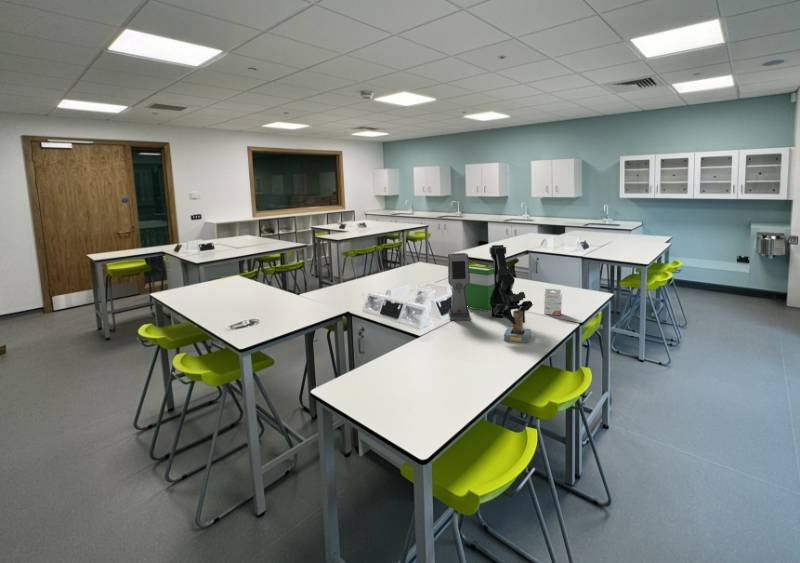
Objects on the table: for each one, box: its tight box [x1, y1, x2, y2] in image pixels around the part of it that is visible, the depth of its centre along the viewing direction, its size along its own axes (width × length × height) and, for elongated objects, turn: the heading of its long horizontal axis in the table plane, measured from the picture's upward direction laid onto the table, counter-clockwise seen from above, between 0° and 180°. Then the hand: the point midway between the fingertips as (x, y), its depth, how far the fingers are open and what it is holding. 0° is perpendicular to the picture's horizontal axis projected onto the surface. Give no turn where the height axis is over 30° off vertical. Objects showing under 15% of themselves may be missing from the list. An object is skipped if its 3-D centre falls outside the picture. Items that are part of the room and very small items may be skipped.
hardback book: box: [466, 264, 494, 312], centre depth 255 cm, size 18×7×24 cm, turn 47°
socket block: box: [503, 326, 532, 344], centre depth 206 cm, size 11×11×3 cm
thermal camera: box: [447, 252, 471, 321], centre depth 237 cm, size 12×13×35 cm
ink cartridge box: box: [543, 288, 563, 316], centre depth 238 cm, size 9×5×15 cm, turn 62°
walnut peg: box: [512, 309, 524, 335], centre depth 205 cm, size 4×4×13 cm
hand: (519, 323), depth 203 cm, fingers open, 5 cm apart
